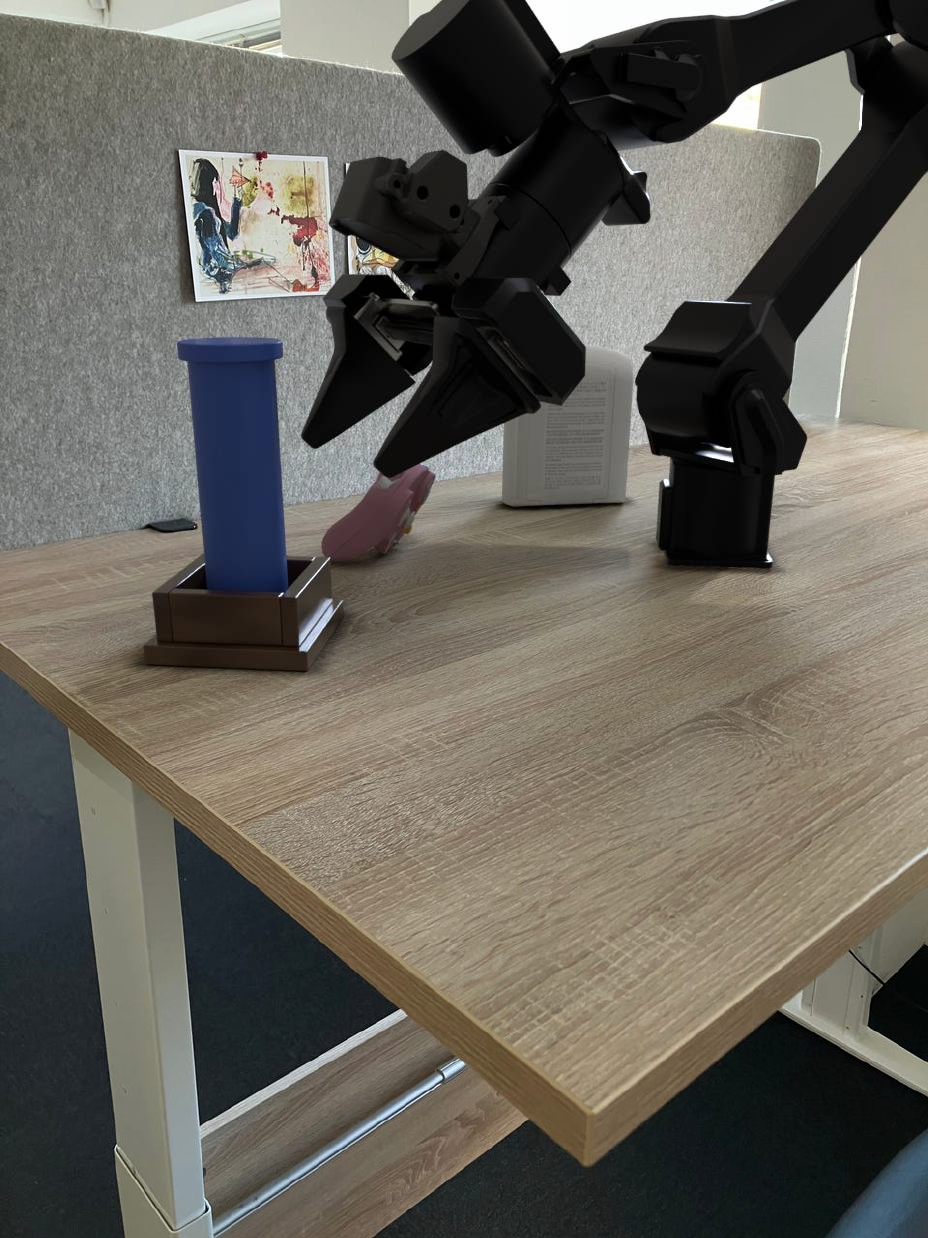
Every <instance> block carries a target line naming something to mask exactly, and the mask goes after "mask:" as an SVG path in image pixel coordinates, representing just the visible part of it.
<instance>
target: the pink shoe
mask: <svg viewBox="0 0 928 1238" xmlns="http://www.w3.org/2000/svg"><path fill="white" fill-rule="evenodd" d="M436 476H437V475H436V473H434V472H433V471H431V470H430V467H428V466H426V465H425V464H421V463H420V464H418V465H416V466H414V467H412V468H410V469H408V470H406V471H404V472H402V473H400V474H398V475H396V476H394V477H392V478H387V477H384V476H383V475H382V474H381V473H380V472H379V471H378V474H377V477H376V480H375V481H374V482H373V483H372V484H371V486H370V487H369V489H368V490H367V492H366V493H365V495H364V496H363V498H362V499H361V501H359V502H358V503H357V504H356V505H355V506H354V507H353V508H352V510H350V511H349V512H347V514H345V515H344V516H342V517H341V518H340V519H339V520H338V521H336V522H335V523H333V524H332V525H331V526H330V527H329V528H328V529H327V530H326V532H325V534H324V535H323V537H322V540H321V547H320V548H321V553H322V554H323V557H330V560H331V562H332V563H333V562H334V563H335V562H337V563H338V562H347V561H350V560H351V561H352V560H354V559H357V558H359V557H361V556H363V555H365V554H366V553H368V552H369V551H370V550H372V549H373V548H374V549H375V550H376V551H377V552H379V553H380V554H383V555H387V553H388V552H389V551H390V549H391V547H392V546H393V544H394V542H397V543H398V542H400V541H401V540H402V539H403V537H404V535H409V534H410V533H411V531H412V530H413V524H414V521H415V517H416V515H417V513H418V512H419V510H420V509H421V507H422V506H424V504H425V503H426V501H427V500H428V497H429V496H430V494H431V489H432V487H433V485H434V482H435V480H436Z"/></svg>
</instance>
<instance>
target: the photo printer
mask: <svg viewBox="0 0 928 1238" xmlns="http://www.w3.org/2000/svg"><path fill="white" fill-rule="evenodd" d="M583 344H584V345H585V347H586V362H585V376H584V378H583V379H582V380H581V382H580V383H579V384H578V385H577V387H576V388H575V389H574V390H573V392H572V393H571V394H570V396H569V397H568V398H567V399H566V401H565V402H564V403H563V405H562V406H560V405H555V404H550V403H545V402H540V401H539V402H540V404H541V408H540V409H539V410H538V411H537V412H536V413H534V414H524V415H521V416H519V417H517V418H515V419H512V420H510V421H508V422H506V423H503V442H502V443H503V444H502V475H501V476H502V477H501V478H502V479H501V480H502V481H501V501H502V503H504V505H507V506H509V507H514V508H515V507H517V508H518V507H535V506H560V505H561V506H562V505H563V506H565V505H585V504H589V505H590V504H621V503H624V502H625V500H626V496H627V488H628V487H627V483H628V470H629V469H628V467H629V452H630V439H631V424H632V423H631V422H632V411H633V410H632V409H633V407H632V406H633V396H634V395H633V392H634V367H633V363H632V359H631V356H629V355H627V354H625V353H623V352H620V351H618V350H615V349H611V348H608V347H604V346H598V345H594V344H587V343H583Z"/></svg>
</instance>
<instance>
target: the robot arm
mask: <svg viewBox="0 0 928 1238" xmlns="http://www.w3.org/2000/svg"><path fill="white" fill-rule="evenodd" d="M898 34H899V36H900V37H901V38H902V39H903V40H902V41H899V42H897V43H896V44H895V45H893V43H891V41H890V40H889V39H888V38H887V37H888V36H893V35H898ZM841 52H844V53H845V57H846V64H847V68H848V69H847V71H848V77H849V83H850V84H851V86H852V87H853V88H854V89H855V90H856V91H857V92H858V93H859V94H860V95H861V99H860V114H859V131H858V133H857V134H856V136H855V137H854V138H853V140H852V141H851V142H850V144H849V145H848V146H847V148H846V149H845V150H844V151H843V153H842V154H841V156H840V157H839V158H838V159H837V160H836V162H834V164H833V166H831V168H830V169H829V171H828V172H827V173H826V174H825V175H824V177H823V178H822V179H821V180H820V182H819V183H818V184H817V186H816V187H814V189H813V190H812V192H811V193H810V195H809V196H808V197H807V198H806V200H805V201H803V204H801V206H800V207H799V209H797V211H796V212H795V214H794V215H793V216H792V217H791V219H790V220H789V221H788V222H787V224H785V226H784V228H783V229H782V230H781V231H780V233H779V234H778V235H777V237H776V238H775V239H774V240H773V242H772V243H771V244H770V245H769V247H768V248H767V249H766V250H765V252H764V253H763V255H762V256H761V257H760V258H759V260H757V262H756V263H755V264H754V266H753V267H752V268H751V269H750V271H749V272H748V273H747V274H746V275H745V277H744V279H743V280H742V281H741V282H740V284H739V285H738V286H737V287H736V289H735V290H734V291H733V292H732V294H730V295H729V296H728V297H727V298H726V299H725V300H723V301H706V300H685V301H683V302H682V303H681V304H680V305H679V306H678V307H677V308H676V309H674V311H673V313H672V315H671V317H670V319H669V320H668V322H667V324H666V325H665V327H664V328H663V329H662V331H661V332H660V333H659V334H658V335H657V336H656V337H655V338H654V339H653V340H651V341H649V342H648V343H646V344H644V346H643V351H645V352H647V353H649V354H648V355H647V356H646V358H644V361H643V362H642V364H641V366H640V367H639V369H638V371H637V374H636V376H635V378H634V384H635V386H636V396H635V397H636V406H637V411H638V414H639V416H640V418H641V420H642V421H643V424H644V427H645V431H646V432H645V433H646V437H647V440H648V444H649V448H650V453H651V454H652V455H653V456H657V457H667V458H669V469H668V471H669V473H668V478H666V479H665V478H664V479H661V480H660V481H659V486H658V498H657V499H658V500H657V502H658V503H657V517H656V533H655V540H656V543H657V547H658V548H659V549H660V551H663V553H664V557H665V560H666V564H667V565H668V566H674V567H699V568H700V567H703V568H732V569H733V568H734V569H735V568H736V569H765V570H766V569H767V570H768V569H772V568H773V563H774V560H773V559H772V557H771V555H770V553H769V552H768V550H769V548H768V547H769V539H770V532H771V531H770V529H771V522H772V521H771V519H772V512H773V511H772V510H773V499H774V490H775V480H776V476H781V475H783V473H784V472H787V471H795V470H797V469H798V467H799V464H800V462H801V459H802V456H803V453H804V451H805V447H806V445H807V442H808V434H807V433H806V432H805V430H804V429H803V427H802V426H801V424H800V422H799V421H798V419H797V418H796V416H795V415H794V413H793V411H791V409H790V408H789V406H788V404H787V403H786V401H785V400H784V398H785V396H786V394H787V393H788V391H789V389H790V388H791V385H792V384H793V374H794V362H795V350H796V342H797V341H798V339H799V337H800V336H801V335H802V334H803V332H804V331H805V330H806V329H807V327H808V325H809V324H810V323H811V322H812V321H813V319H814V318H815V317H816V316H817V314H818V313H819V312H820V310H821V309H822V308H823V306H825V304H826V303H827V302H828V300H829V299H830V298H831V296H832V295H833V294H834V292H835V291H836V289H838V287H839V286H840V285H841V284H842V282H843V280H844V279H845V278H846V277H847V276H848V274H849V273H850V271H851V270H852V269H853V268H854V266H855V265H856V264H857V262H858V261H859V260H860V259H861V257H862V256H863V255H864V254H865V252H866V251H867V250H868V248H869V247H870V246H871V245H872V243H873V242H874V241H875V240H876V238H877V236H878V235H879V234H880V233H881V232H882V230H883V229H884V228H885V226H886V225H887V224H888V222H889V221H890V220H891V218H892V217H893V216H894V215H895V214H896V212H897V211H898V210H899V208H900V207H901V206H902V204H903V203H904V202H905V201H906V199H907V198H908V197H909V195H910V194H911V193H912V191H913V190H914V189H915V188H916V186H917V185H918V184H919V183H920V181H921V180H922V178H923V177H924V176H925V175H927V173H928V0H771V1H768V2H765V3H762V4H759V5H757V6H753V7H751V8H749V9H746V10H743V11H740V12H737V13H735V14H731V15H727V16H724V15H717V14H705V15H704V14H701V15H691V16H690V15H689V16H680V17H679V16H678V17H668V18H664V19H663V18H662V19H659V20H655V21H652V22H648V23H646V24H642V25H639V26H636V27H632V28H628V29H625V30H622V31H619V32H616V33H612V34H609V35H605V36H601V37H599V38H594V39H592V40H590V41H588V42H586V43H585V44H583V45H581V46H579V47H577V48H573V49H570V50H566V51H563V52H560V50H559V49H558V46H556V44H555V43H554V41H553V39H552V38H551V37H550V34H549V33H548V32H547V30H546V29H545V28H544V26H543V24H542V23H541V21H540V20H539V18H538V17H537V15H536V14H535V12H534V11H533V9H532V8H531V6H530V4H529V3H528V2H527V0H439V2H437V4H436V5H435V6H433V8H432V9H430V10H429V11H427V12H425V13H423V14H421V15H419V16H418V17H417V18H415V20H414V21H413V22H412V23H411V25H409V27H408V28H407V29H406V30H405V32H404V33H403V35H401V37H400V38H399V40H398V42H397V43H396V45H395V46H394V49H393V50H392V53H391V60H392V61H393V63H394V64H395V65H396V67H397V68H398V69H399V71H400V72H401V73H402V74H403V75H404V77H405V78H406V79H407V81H408V82H409V84H410V85H411V86H412V88H414V90H415V91H416V93H417V94H418V95H419V96H420V99H422V100H423V102H424V103H425V104H426V106H427V107H428V108H429V110H430V111H431V112H432V113H433V115H434V116H435V118H437V120H438V121H439V122H440V123H441V125H442V126H443V128H444V129H445V130H446V132H447V133H448V134H449V136H450V137H451V138H452V140H453V141H454V142H455V143H456V144H457V146H458V147H459V148H460V150H461V151H462V152H463V154H464V155H468V156H469V155H475V154H479V153H481V152H483V151H485V150H486V151H487V152H488V153H489V155H490V156H491V157H492V158H499V157H502V156H505V155H507V154H509V153H511V152H512V151H513V153H512V154H511V155H510V156H509V158H508V159H507V160H506V161H505V162H504V164H503V165H502V166H501V167H500V168H499V170H498V172H497V173H495V175H494V176H493V178H492V179H491V180H490V181H489V183H488V184H487V185H485V187H484V188H483V190H482V191H481V192H480V193H479V195H478V196H477V197H476V198H471V199H469V181H468V180H469V179H468V164H467V163H466V162H464V161H463V160H461V159H459V158H458V157H457V156H456V155H454V154H452V153H450V152H449V151H447V150H445V149H439V150H434V151H429V152H425V153H423V154H422V155H421V156H420V157H419V158H417V160H415V161H414V162H413V163H412V164H411V165H410V166H407V164H408V161H406V160H405V159H404V158H402V157H398V158H389V157H386V156H381V155H379V156H373V157H368V158H363V159H358V160H352V161H350V163H349V165H348V167H347V171H346V173H345V176H344V179H343V181H342V184H341V187H340V189H339V192H338V195H337V198H336V201H335V203H334V206H333V210H332V213H331V215H330V218H329V221H328V222H327V223H328V226H329V227H330V228H331V229H332V230H333V231H335V232H336V233H339V234H341V235H343V236H345V237H350V236H353V237H355V238H357V239H358V240H360V241H362V242H364V243H366V244H368V245H370V246H372V247H374V248H375V249H376V250H379V251H381V252H383V253H385V254H386V255H388V256H390V257H393V258H395V259H397V260H396V262H395V263H394V265H393V266H391V268H390V271H391V272H392V273H393V274H394V275H395V276H396V277H397V279H399V281H400V282H401V283H402V284H403V285H404V286H405V287H409V288H410V289H411V290H412V291H413V294H412V295H411V296H410V297H411V298H410V297H409V296H408V295H407V293H405V291H404V290H403V289H402V288H401V287H400V286H399V285H398V284H397V283H396V281H395V280H394V279H393V278H392V277H391V276H390V275H389V274H382V273H381V274H380V273H379V274H378V273H342V274H341V275H340V276H339V278H338V279H337V280H336V281H335V282H334V284H333V285H332V286H331V287H330V288H329V290H328V291H327V292H326V293H325V295H324V296H323V297H322V301H323V303H324V306H325V307H326V310H325V317H326V320H327V322H328V323H329V324H330V326H331V332H332V333H331V334H332V338H333V346H334V347H333V352H332V355H331V358H330V361H329V364H328V367H327V369H326V371H325V375H324V377H323V380H322V382H321V384H320V387H319V390H318V391H317V394H316V397H315V399H314V401H313V404H312V406H311V408H310V411H309V414H308V415H307V419H306V421H305V423H304V425H303V428H302V430H301V433H300V438H301V440H302V441H303V442H304V443H305V444H306V445H307V446H309V447H310V448H311V449H313V450H317V449H320V448H322V447H323V446H324V445H326V444H328V443H329V442H332V440H334V439H336V438H337V437H339V436H340V435H343V433H345V432H346V431H348V430H349V429H351V428H353V426H355V425H356V424H358V423H359V422H361V421H362V420H364V419H365V418H367V417H369V416H370V415H371V414H373V413H374V412H376V411H377V410H379V409H380V408H382V407H383V406H384V405H386V404H388V403H389V402H391V401H392V400H393V399H396V397H398V396H400V395H401V394H403V393H404V392H405V391H407V390H408V389H410V388H411V387H413V386H414V385H415V384H417V381H415V379H414V378H413V377H414V376H416V375H417V374H419V373H421V372H422V371H424V370H426V369H427V368H428V367H429V366H430V365H431V366H430V368H429V369H428V371H427V372H426V374H425V376H424V377H423V379H422V380H421V382H420V384H419V385H418V387H417V388H416V390H415V392H414V393H413V395H412V396H411V398H410V400H409V401H408V403H407V404H406V405H405V407H404V408H403V410H402V412H401V413H400V415H399V417H398V418H397V420H396V422H395V423H394V424H393V426H392V428H391V429H390V431H389V433H388V435H387V436H386V437H385V439H384V441H383V443H382V444H381V447H380V449H378V452H377V454H376V455H375V457H374V459H373V460H372V465H373V467H374V468H375V470H377V471H378V473H379V472H380V473H381V474H382V475H383V476H384V477H387V478H392V477H394V476H396V475H398V474H400V473H402V472H404V471H406V470H408V469H410V468H412V467H414V466H416V465H418V464H420V465H421V464H422V463H424V462H426V461H428V460H429V459H432V458H434V457H436V456H439V455H440V454H442V453H444V452H446V451H448V450H450V449H452V448H454V447H455V446H458V445H460V444H462V443H464V442H466V441H468V440H470V439H473V438H474V437H475V438H476V437H477V436H479V435H481V434H483V433H485V432H488V431H490V430H492V429H494V428H497V427H499V426H502V425H504V423H506V422H508V421H510V420H512V419H515V418H517V417H519V416H521V415H524V414H534V413H536V412H537V411H538V410H539V409H540V408H541V404H540V402H545V403H550V404H555V405H560V406H562V405H563V403H564V402H565V401H566V399H567V398H568V397H569V396H570V394H571V393H572V392H573V390H574V389H575V388H576V387H577V385H578V384H579V383H580V382H581V380H582V379H583V378H584V376H585V362H586V347H585V345H584V344H585V343H583V342H582V340H581V339H580V338H579V336H578V335H577V334H576V333H575V331H574V330H573V329H572V327H571V326H570V325H569V324H568V322H567V321H566V320H565V318H564V317H563V316H562V314H561V313H560V312H559V311H558V309H556V307H555V306H554V304H553V303H552V301H550V299H549V298H548V296H549V297H561V296H562V295H563V293H564V292H565V291H566V290H567V289H568V287H569V286H570V284H571V283H572V282H573V280H571V278H570V277H569V275H568V274H567V273H566V272H565V270H564V268H565V267H566V266H567V264H568V263H569V262H570V260H571V259H572V257H573V256H574V255H575V254H576V253H577V251H579V249H580V248H581V247H582V245H583V244H584V242H585V241H587V239H588V238H589V236H590V235H591V234H592V233H593V231H594V230H595V229H596V228H597V227H598V225H599V224H600V222H602V223H603V224H604V225H605V226H607V227H616V226H617V227H619V226H636V225H637V226H638V225H647V224H648V223H649V222H650V221H651V218H652V214H651V201H650V197H649V195H648V194H649V193H648V190H647V182H648V177H649V175H648V173H647V172H646V171H644V170H641V171H639V170H638V171H633V170H631V169H630V168H629V166H628V165H627V164H626V162H625V160H624V158H623V157H622V156H621V154H620V153H619V152H620V151H622V152H623V151H628V150H633V149H641V148H648V147H649V148H650V147H655V146H656V147H657V146H663V145H669V144H674V143H679V142H683V141H685V140H687V139H689V138H690V137H692V136H693V135H695V134H696V133H698V132H699V131H700V130H702V129H704V128H705V127H706V126H708V125H709V124H712V123H713V122H714V121H715V120H717V119H718V118H720V117H721V116H723V115H724V114H726V113H727V112H728V111H729V109H730V108H731V107H732V105H733V104H734V102H735V101H736V99H737V98H739V97H740V96H741V95H742V94H744V93H745V92H747V91H748V90H750V89H752V88H753V87H755V86H758V85H760V84H762V83H765V82H768V81H771V80H773V79H775V78H777V77H781V76H783V75H785V74H788V73H791V72H793V71H796V70H798V69H800V68H803V67H805V66H808V65H811V64H813V63H816V62H818V61H821V60H823V59H826V58H829V57H831V56H834V55H836V54H839V53H841ZM539 401H540V402H539Z"/></svg>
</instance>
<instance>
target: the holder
mask: <svg viewBox="0 0 928 1238" xmlns="http://www.w3.org/2000/svg"><path fill="white" fill-rule="evenodd" d="M286 557H287V573H288V589H287V590H286V591H285V592H284V594H283V593H282V592H258V591H228V590H207V582H206V571H205V559H204V552H202V554H200V555H199V556H198V557H196V558H195V559H193V561H191V562H190V563H188V564H187V565H186V566H185V567H183V568H182V569H181V570H179V571H178V572H177V573H176V574H174V575H173V576H172V577H170V578H169V579H168V580H166V581H165V582H164V583H163V584H161V585H160V586H159V587H157V588H156V589H155V590H154V591H152V592H151V596H152V597H151V598H152V607H153V615H154V616H153V617H154V624H155V635H153V636H152V637H151V638H150V639H149V640H148V641H147V642H146V643H144V644H143V647H142V648H143V657H144V664H145V665H154V666H177V667H179V666H180V667H200V668H201V667H204V668H227V669H251V670H252V669H253V670H274V671H275V670H276V671H278V670H279V671H300V672H301V671H302V672H307V671H309V669H310V668H311V666H312V665H313V663H314V662H315V660H316V659H317V657H319V654H320V653H321V652H322V650H323V649H324V647H325V645H326V644H327V642H328V641H329V640H330V638H331V636H332V635H333V633H334V632H335V630H336V629H337V627H338V626H339V624H340V623H341V622H342V620H343V619H344V617H345V602H344V599H340V598H339V599H338V598H336V599H335V598H333V585H332V583H333V582H332V564H331V563H332V561H331V560H330V557H325V556H308V555H307V556H303V555H302V556H301V555H286Z"/></svg>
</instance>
